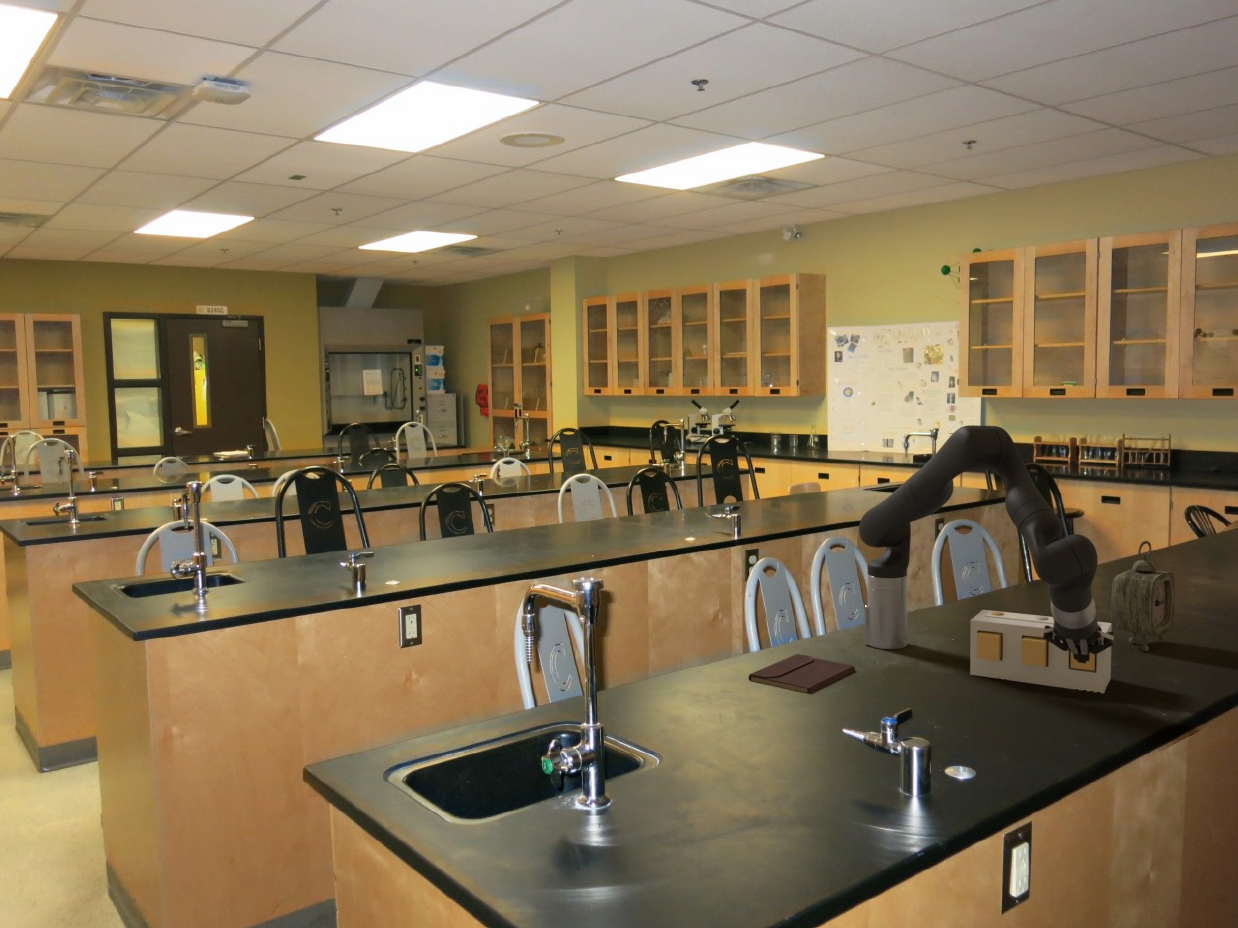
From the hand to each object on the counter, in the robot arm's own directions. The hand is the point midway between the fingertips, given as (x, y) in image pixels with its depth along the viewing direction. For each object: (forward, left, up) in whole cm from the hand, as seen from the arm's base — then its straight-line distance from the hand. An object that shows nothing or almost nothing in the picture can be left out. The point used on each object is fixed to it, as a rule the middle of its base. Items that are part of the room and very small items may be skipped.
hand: (1082, 659), depth 191 cm
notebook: (-54, -15, -8) cm, 56 cm away
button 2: (0, +5, -3) cm, 6 cm away
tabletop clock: (+7, +46, -8) cm, 48 cm away
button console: (-9, +9, -7) cm, 15 cm away
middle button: (-9, +3, -3) cm, 10 cm away
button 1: (-18, +3, -3) cm, 19 cm away
